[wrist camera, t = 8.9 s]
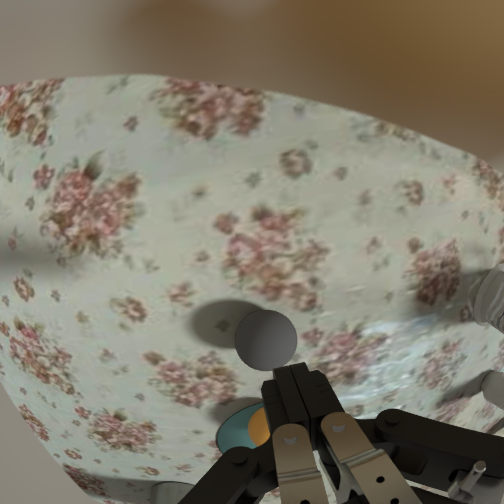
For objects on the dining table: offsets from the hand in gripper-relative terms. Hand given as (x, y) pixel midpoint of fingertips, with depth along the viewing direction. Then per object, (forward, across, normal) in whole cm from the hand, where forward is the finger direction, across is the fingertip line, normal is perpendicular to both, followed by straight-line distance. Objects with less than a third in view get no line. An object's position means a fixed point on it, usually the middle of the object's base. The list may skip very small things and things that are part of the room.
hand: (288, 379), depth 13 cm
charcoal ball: (+12, 0, +6) cm, 13 cm away
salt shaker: (+15, -40, +29) cm, 52 cm away
